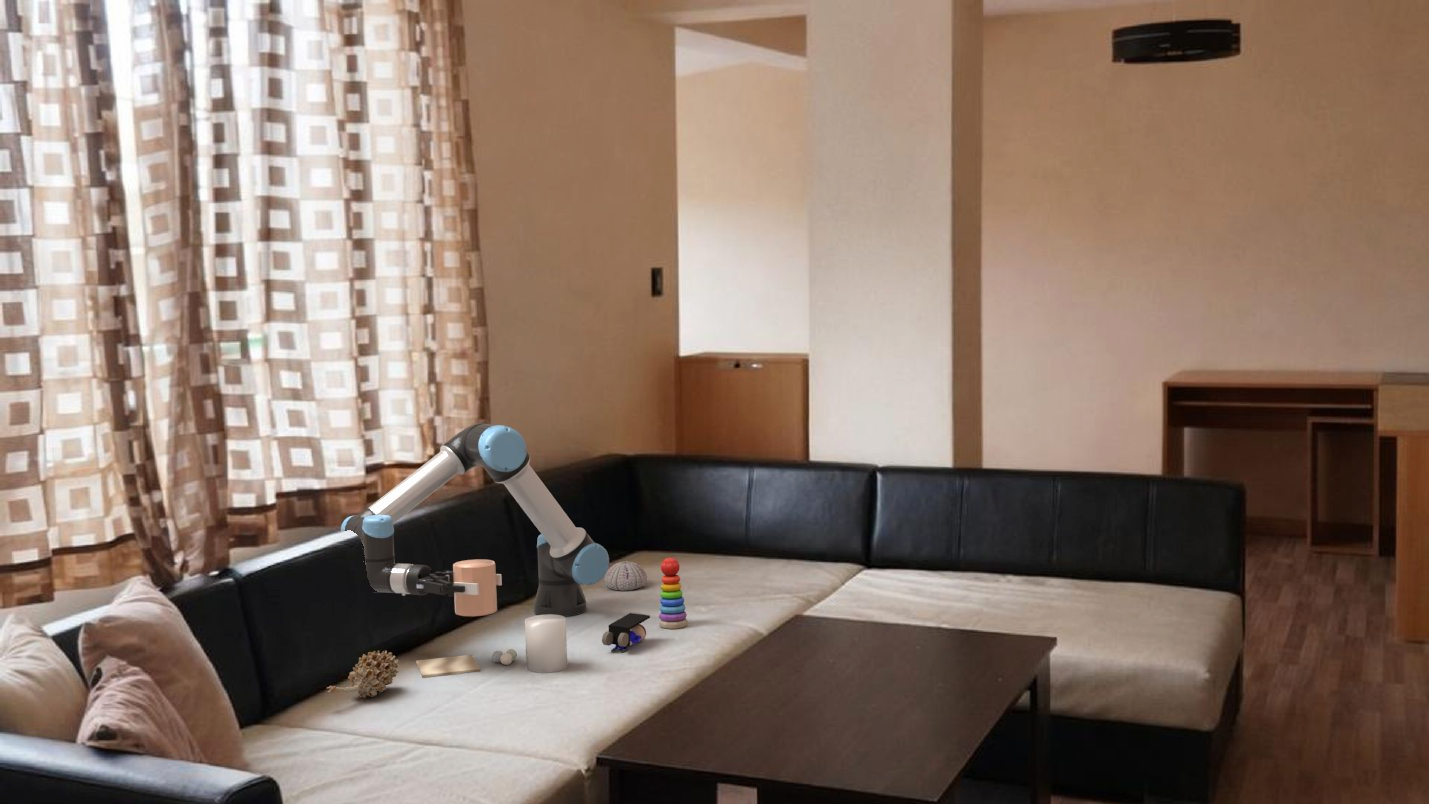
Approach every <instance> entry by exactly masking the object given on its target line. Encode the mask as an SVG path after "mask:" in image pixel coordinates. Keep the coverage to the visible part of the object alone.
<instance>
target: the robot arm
mask: <svg viewBox="0 0 1429 804" xmlns="http://www.w3.org/2000/svg"><path fill="white" fill-rule="evenodd" d="M439 448H440V449H439V450H440V451H439V452H438V453H437V454H436V455H435V456H433V457H431V458H430V459H429V460H428V461H426V462H425V463H424V464H422V466H420V467H419V468H418V469H416V470H414V472H412V473H411V474H409V476H407V477H406V478H405V479H404V480H402V481H401V482H399V483H398V484H396V485H395V486H394V487H393V488H392V489H391V490H389V491H388V492H387V493H385V494H384V495H383V496H382V497H380V498H379V499H377V500H376V501H375V502H374V503H372V504H371V505H370V506H369V507H367V508H366V509H364V510H363V511H361V513H359V514H358V515H357V514H356V515H351V516H348V517H346V518H345V519H344V520H343V522H342V523H341V526H340V532H341V531H347V530H351V531H353V532H354V533H356V534H357V535H358V536H359V537H360V539H361V542H362V544H363V546H364V549H363V554H364V555H365V556H364V557H365V565H366V571H367V578H368V580H369V583H370V586H371V587H372V588H373V589H374V590H375V591H377V592H376V593H390V594H401V596H403V597H405V596H406V595H415V596H425V595H426V596H427V594H435V595H440V596H447V595H448V596H447V597H450V598H451V597H454V594H468V595H479V586H478V583H463V582H454V577H453V570H443V571H435V572H433V570H432V569H431V567H430V566H428V565H426V564H413V563H412V564H411V563H399V562H398V563H396V561H395V559H396V558H395V538H394V537H395V535H394V534H395V527H394V524H395V523H397V522H398V521H399V520H400V519H402V518H403V517H404V516H405V515H407V514H408V513H410V512H411V511H412V510H414V509H415V508H416V507H417V506H418V505H419V504H421V503H423V501H425V500H426V499H428V498H429V497H430V496H431V495H432V494H433V493H435V492H436V491H438V490H439V489H440V488H441V487H442V486H444V485H445V484H447V483H448V482H450V481H451V480H452V479H454V477H455V476H457V475H464V474H465V473H467V472H468V471H469V470H471V469H473V468H475V467H482V468H483V469H484V470H485V472H487V474H488V475H489V476H490V478H491V479H492V480H493V481H494V483H497V484H503V485H504V487H505V488H506V489H507V490H508V492H509V493H510V495H511V496H512V497H513V498H514V499H515V501H516V503H517V504H518V505H519V506H520V508H521V509H522V511H523V512H524V513H525V514H526V516H527V517H528V519H530V521H531V522H532V523H533V525H534V526H535V527H536V528H537V530H538V532H540V534H539V535H538V537H537V540H536V541H537V544H536V549H537V551H536V552H537V570H538V588H537V592H536V595H535V599H534V602H533V613H534V614H535V615H536V616H537V615H547V614H553V615H561V616H564V617H570V616H576V615H580V614H582V613H583V614H584V613H585V612H586V611H587V610H588V605H587V604H588V603H587V599H586V596H585V594H584V592H583V589H582V586H583V585H585V586H590V585H591V586H593V585H595V584H597V583H598V582H600V581H601V580H603V579H604V576H605V574H606V573H607V571H608V570H609V564H610V557H609V556H610V555H609V554H608V551H607V549H606V548H604V547H605V546H602V545H601V544H599V543H597V542H595V541H594V540H593V539H592V538H591V536H590V535H589V534H588V533H587V531H586V529H584V528H583V527H576V526H575V524H574V523H573V521H572V520H571V519H570V518H569V516H568V514H567V513H566V512H565V511H564V510H563V507H561V505H560V504H559V503H558V501H557V500H556V499H555V497H554V496H553V494H552V493H551V492H550V491H549V489H548V487H546V485H545V484H544V483H543V481H542V480H541V479H540V477H539V475H538V474H537V473H536V472H535V471H534V469H533V467H532V466H531V465H530V463H531V462H530V461H531V456H530V453H528V451H527V443H526V441H525V439H524V437H523V436H522V434H520V432H519V431H517V430H515V429H514V428H512V427H510V426H507V425H503V424H492V423H487V422H478V423H474V424H471V425H469V426H467V427H465V428H464V429H462V430H461V431H460V432H458V433H456V434H455V435H453V436H452V437H451V438H450V439H449V440H447V441H446V442H445V443H444V444H442V445H440V447H439ZM366 561H367V562H366ZM502 577H503V576H502V574H501V573H496V586H502V585H503V583H502V582H503V581H502V579H503V578H502ZM581 585H582V586H581Z"/></svg>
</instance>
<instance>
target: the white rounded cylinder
mask: <svg viewBox="0 0 1429 804" xmlns="http://www.w3.org/2000/svg"><path fill="white" fill-rule="evenodd" d="M566 618H567V617H566V616H561V615H553V614H547V615H537V614H536V615H532V616H529V617H527V618H525V619H524V633H525V634H524V636H525V659H526V662H525V663H526V669H527V671H529V672H531V673H537V674H547V673H548V674H549V673H556V672H561V671H563V670H566V669H567V668H568V648H567V646H568V644H567V640H568V639H567V622H566V621H567V619H566Z"/></svg>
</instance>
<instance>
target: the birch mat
mask: <svg viewBox="0 0 1429 804" xmlns="http://www.w3.org/2000/svg"><path fill="white" fill-rule="evenodd" d="M415 664H416V667H417V668H418V670H419V673H420V676H421V678H423V679H424V678H431V677H441V676H448V675H456V674H467V673H468V674H469V673H476V672H481V668H480V666H479V664H478V662H477V661H476V659H475V658H474V656H473V654H465V655H456V656H447V657H438V658H429V659H428V658H427V659H419V660H415Z"/></svg>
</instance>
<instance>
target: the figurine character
mask: <svg viewBox="0 0 1429 804" xmlns="http://www.w3.org/2000/svg"><path fill="white" fill-rule="evenodd" d="M650 618H651V615H649V614H641V613H633V612H629V613H627V614H626V615H624V616H622V617H621V618H618V619H617V620H614V621H613V622H612V623H610V624H608V631H604V633H603V635H602V638H601V643H602V644H603V645H604V646H608V647H609V646H611V645H615V647H614V648H612V649H611V650H610V652H611V653H614V652H616V651H617V650H618V649H620V650H621V651H620V653H621V654H623V653H624V652H626V651H627V650H628V649H629V647H631V646H632V645H634V644H638V643H641V642H643V641H644V640H645V639H646V636H647V629H646V628H645V627H644V625H642V623H644V622H646V621H647V620H648V619H650Z"/></svg>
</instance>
